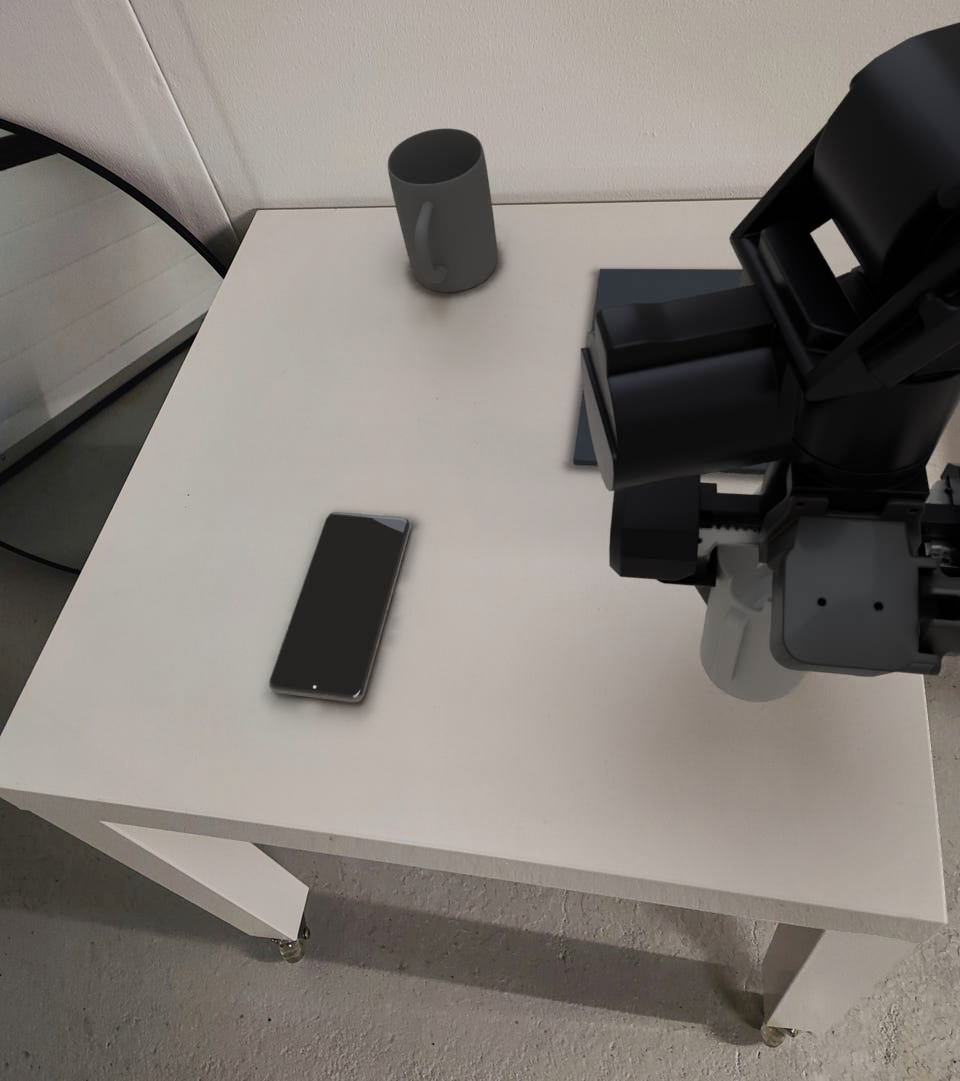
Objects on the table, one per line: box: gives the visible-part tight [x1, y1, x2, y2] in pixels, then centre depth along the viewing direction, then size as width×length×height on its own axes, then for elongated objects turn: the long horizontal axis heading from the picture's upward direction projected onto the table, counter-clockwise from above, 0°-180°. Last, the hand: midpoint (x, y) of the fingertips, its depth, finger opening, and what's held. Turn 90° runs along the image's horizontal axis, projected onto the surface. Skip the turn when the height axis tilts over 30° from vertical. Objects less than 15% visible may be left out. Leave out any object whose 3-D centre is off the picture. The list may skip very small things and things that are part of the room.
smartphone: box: [268, 511, 412, 703], centre depth 62 cm, size 7×1×16 cm
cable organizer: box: [699, 483, 810, 703], centre depth 44 cm, size 7×12×12 cm, turn 136°
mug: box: [387, 127, 498, 293], centre depth 77 cm, size 14×9×12 cm
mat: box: [573, 268, 767, 475], centre depth 71 cm, size 20×24×1 cm
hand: (787, 608), depth 44 cm, fingers closed on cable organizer, 7 cm apart
